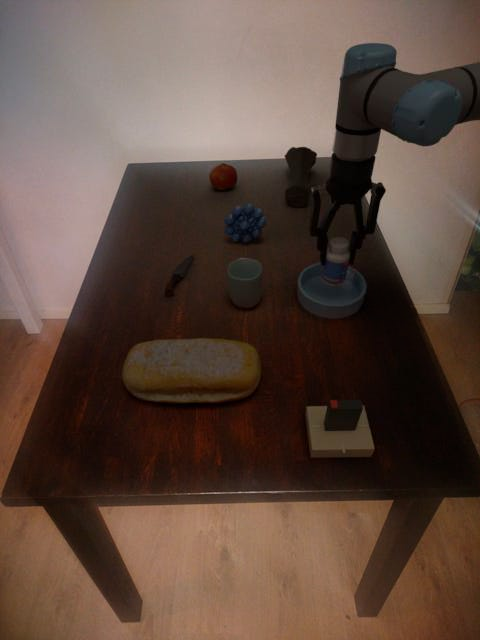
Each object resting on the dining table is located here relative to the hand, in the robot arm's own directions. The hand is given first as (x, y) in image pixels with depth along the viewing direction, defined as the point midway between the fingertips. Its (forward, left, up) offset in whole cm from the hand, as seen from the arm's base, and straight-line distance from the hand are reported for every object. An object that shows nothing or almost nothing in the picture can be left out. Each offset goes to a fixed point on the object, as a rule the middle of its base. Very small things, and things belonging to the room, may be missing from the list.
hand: (336, 260), depth 83 cm
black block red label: (-18, +31, -7) cm, 36 cm away
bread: (+10, +37, -11) cm, 40 cm away
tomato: (+55, -28, -11) cm, 63 cm away
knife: (+35, +15, -11) cm, 40 cm away
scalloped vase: (+34, -42, -11) cm, 55 cm away
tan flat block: (-18, +31, -10) cm, 37 cm away
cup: (+15, +13, -11) cm, 23 cm away
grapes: (+30, -7, -11) cm, 33 cm away
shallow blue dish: (0, 0, -10) cm, 10 cm away
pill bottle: (0, 0, -5) cm, 5 cm away
